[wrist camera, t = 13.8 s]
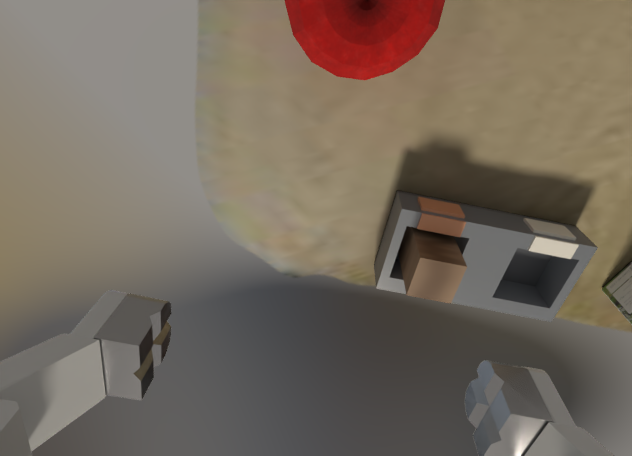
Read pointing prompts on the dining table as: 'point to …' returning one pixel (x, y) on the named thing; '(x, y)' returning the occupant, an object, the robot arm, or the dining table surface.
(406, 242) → the walnut plug
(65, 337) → the robot arm
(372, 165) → the dining table surface
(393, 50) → the apple
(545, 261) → the socket block
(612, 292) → the syrup box
